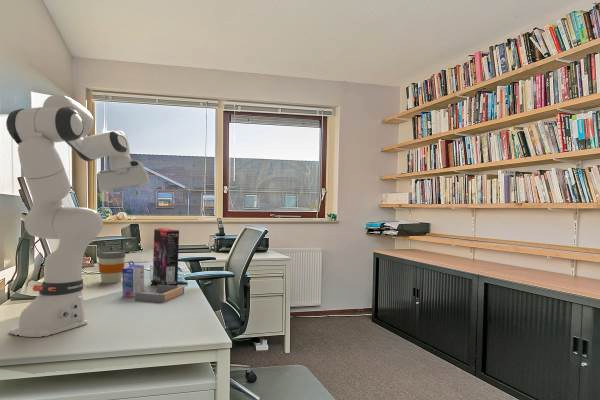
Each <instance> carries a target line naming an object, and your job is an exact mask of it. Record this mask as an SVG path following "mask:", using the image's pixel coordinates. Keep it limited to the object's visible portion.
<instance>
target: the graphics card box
mask: <svg viewBox="0 0 600 400" xmlns="http://www.w3.org/2000/svg"><path fill="white" fill-rule="evenodd" d="M179 240H180V230H178V229H172V228H165V227H163V228H162V227H161V228H160V227H159V228H155V229H154V230H153V255H152V257H153V258H152V264H153V265H152V283H154V284H156V285H170V286H178V281H179V280H178V278H179V277H178V275H179V274H178V273H179V246H180V245H179V243H180V241H179Z"/></svg>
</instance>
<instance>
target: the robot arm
mask: <svg viewBox="0 0 600 400" xmlns="http://www.w3.org/2000/svg"><path fill="white" fill-rule="evenodd" d="M5 125H6V129H7V131H8V133H9V135H10V136H11V138H12V140H14V142H15V143H16V144H17V145H18V146H17V153H18V159H19V164H20V166H21V170H22V173H23V175H24V179H25V180H26V184H27V185H28V188H29V190H30V194H31V198H32V199H31V200H32V207H31V209H30V210H29V211H28V212H27V214H26V215H25V217H24V222H23V223H24V224H23V225H24V229H25V231H26V232H27V234H28V235H30V236H32V237H36V238H40V239H44V240H59V242H58V245H57V248H56V250H54V251H52V252H51V253H49V254H48V255H47V256H46V257H45V258H44V265H43V267H44V269H43V270H44V272H43V281H42V283H41V285H40V284H39V285H38V284H34V285H33V286H31V287H32V291H33V292H38V293H39V294H38V295H36V297H35V298H34V299H33V300H32V301H31V302H30V303H29V304H28V305H27V306H26V307H25V308H24V309H23V310H22V311H21V312H20V315H19V321H18V325H17V326H14V327H12V328H10V329H9V333H10V334H11V335H13V334H14V335H13V336H17V335H19V337H27V338H40V337H42V336H44V337H48V336H51V334H52V335H55V334H58V333H61V332H65V331H68V330H72V329H74V328H77V327H81V326H85V325H88V320H87V317H86V312H85V302H84V301H85V300H84V296H83V293H82V292H83V289H84V279H83V277H82V275H83V263H84V262H83V260H84V255H85V251H86V250H87V248H88V246H89V244H90V243H91V242H92V241H93V240H94V239H95V238H97V237H98V236H99V235H100V234H101V232H102V229H103V227H104V220H103V217H102V215H101V213H100V212H99V211H98V210H95V209H93V208H87V207H81V206H79V207H78V206H77V207H75V206H65V205H64V204H63V199H64V198H66V197H67V196H68V194H69V193H70V190H71V183H70V180H69V178H68V175H67V172H66V170H65V166H64V163H63V162H62V159H61V157H60V154H59V153H58V151H57V149H56V147H55V143H61V142H62V143H63V142H65V143H66V144H67V145H68V146H69V147H70V148H71V149H72V150H74V151H75V153H76V154H77V156H78V157H79V158H80V159H81V160H83V161H85V162H92V161H96V160H98V159H102V158H106V157H109V169H105V170H100V171H99V172H97V174H96V180H97V182H98V183H97V185H98V189H99V191H100V192H101V193H107V192H108V193H109V194H110V196H111V197H112V200H113V201H118V196H117V195H114V194H113V193H114V192H115V191H118V190H124V189H129V188H135V187H137V188H138V189H137V191H135V196H136V197H140V196H141V191H142V189H143V187H142V186H145V185H149V184H150V178H149V175H148V172H147V171H146V169H145V166H144V164H143V163H142V161H140V160H133V159H132V157H131V155H130V152H131V150H130V145H129V144H130V143H129V142H128V139H127V135H126V134H125V132H124V131H122V130H120V129H112V130H109V131H105V132H100V133H97V134H91V135H89V134H90V133H91V132H92V130H93V128H94V117H93V115H92V114H91V112H90V110H88V109H87V108H86V107H84V106H83V105H82V104H81V103H79V102H77V101H76V100H74V99H72V98H71V97H69V96H66V95H63V94H58V93H57V94H53V95H50V96H48V97H47V98H46V99H45V100H44V102H43V103H42V107H31V108H30V107H29V108H19V109H15V110H13V111H11V112H9V114H8V116H7V118H6V123H5ZM88 135H89V136H88Z"/></svg>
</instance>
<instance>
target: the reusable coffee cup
mask: <svg viewBox="0 0 600 400" xmlns="http://www.w3.org/2000/svg"><path fill="white" fill-rule="evenodd" d="M97 254H98V255H97V258H98V271H99V274H100V281H101V283H102V284H117V283H120V282H122V269H123V268H125V264H126V262H125V258H126V251H125V250H121V249H120V250H119V249H116V250H115V249H114V250H113V249H112V250H110V249H108V250H101V251H98V253H97Z"/></svg>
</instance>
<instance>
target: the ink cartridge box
mask: <svg viewBox="0 0 600 400" xmlns="http://www.w3.org/2000/svg"><path fill="white" fill-rule="evenodd" d="M127 263H128V265H129V266H126V267H124V268H123V269H122V278H121V282H122V284H121V285H122V297H129V298H132V297H134V298H135V293H136V292H144V293H145V266H144V264H143V265H142V264H135V263H134V261H133V260H130V261H127Z"/></svg>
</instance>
